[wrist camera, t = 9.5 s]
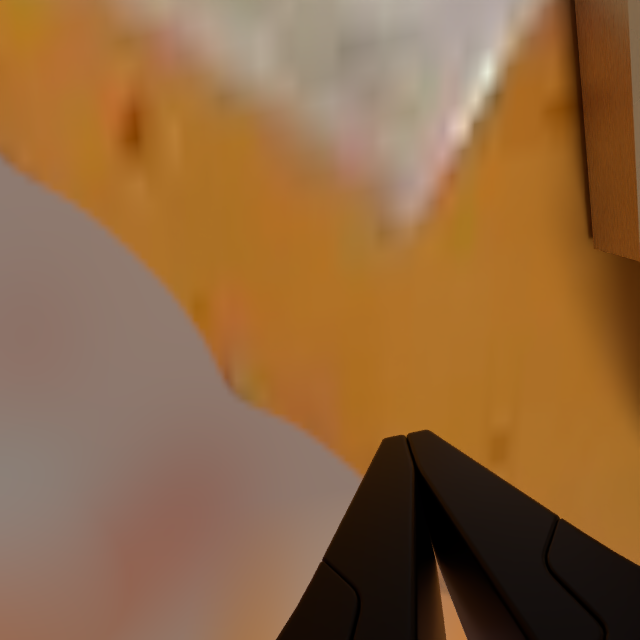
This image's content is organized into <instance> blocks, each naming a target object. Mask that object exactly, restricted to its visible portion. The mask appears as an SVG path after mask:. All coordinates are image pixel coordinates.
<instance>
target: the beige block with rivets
mask: <svg viewBox="0 0 640 640" xmlns="http://www.w3.org/2000/svg"><path fill="white" fill-rule="evenodd" d="M575 11H576V23H577V36H578V49H579V62H580V75H581V88H582V101H583V114H584V127H585V140H586V153H587V165H588V178H589V191H590V204H591V217H592V230H593V243H594V249H597V250H601V251H604V252H608V253H611V254H615V255H618V256H622V257H625V258H629V259H632V260H636V261H639V262H640V0H575Z"/></svg>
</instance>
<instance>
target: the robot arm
mask: <svg viewBox="0 0 640 640" xmlns="http://www.w3.org/2000/svg"><path fill="white" fill-rule="evenodd" d="M432 545H433V546H432ZM433 549H434V550H433ZM434 552H435V555H434ZM435 556H436V559H437V562H438V565H439V568H440V570H441V573H442V576H443V578H444V581H445V584H446V586H447V589H448V591H449V594H450V596H451V599H452V601H453V604H454V606H455V609H456V612H457V614H458V617H459V619H460V622H461V624H462V627H463V629H464V632H465V635H466V637H467V639H468V640H640V566H639V565H637V564H635V563H633V562H632V561H630V560H628V559H626V558H625V557H623V556H621V555H619V554H617V553H616V552H614V551H613V550H611V549H609V548H608V547H606V546H605V545H603V544H601V543H600V542H598V541H597V540H595V539H593V538H592V537H590V536H589V535H587V534H585V533H584V532H582V531H581V530H579V529H578V528H576V527H575V526H573V525H572V524H570V523H569V522H567V521H566V520H564V519H560V518H559V516H558V515H556V514H555V513H553V512H552V511H550V510H549V509H547V508H546V507H544V506H543V505H541V504H540V503H538V502H537V501H535V500H534V499H532V498H531V497H529V496H528V495H526V494H525V493H523V492H522V491H520V490H518V489H517V488H515V487H514V486H512V485H511V484H509V483H508V482H506V481H505V480H503V479H502V478H500V477H499V476H497V475H496V474H494V473H493V472H491V471H490V470H488V469H487V468H485V467H484V466H482V465H481V464H479V463H478V462H476V461H475V460H473V459H472V458H470V457H469V456H467V455H466V454H464V453H463V452H461V451H460V450H458V449H457V448H455V447H454V446H452V445H451V444H449V443H448V442H446V441H445V440H443V439H442V438H440V437H439V436H437V435H436V434H434V433H433V432H431V431H429V430H422V431H417V432H412V433H409V434H408V435H407V438H406V436H404V435H398V436H393V437H388V438H384V439H383V440H382V442H381V444H380V446H379V448H378V450H377V452H376V454H375V456H374V458H373V460H372V462H371V464H370V466H369V468H368V470H367V472H366V474H365V476H364V478H363V480H362V482H361V484H360V486H359V488H358V490H357V492H356V494H355V496H354V498H353V500H352V501H351V504H350V506H349V507H348V509H347V511H346V514H345V515H344V517H343V519H342V521H341V523H340V525H339V527H338V529H337V531H336V533H335V535H334V537H333V539H332V541H331V543H330V545H329V547H328V549H327V551H326V553H325V555H324V557H323V559H322V562H321V563H320V564H319V566H318V568H317V570H316V572H315V574H314V576H313V578H312V580H311V582H310V584H309V585H308V587H307V589H306V591H305V593H304V594H303V596H302V598H301V600H300V602H299V604H298V606H297V607H296V609H295V610H294V612H293V614H292V615H291V617H290V618H289V620H288V621H287V623H286V625H285V626H284V628H283V629H282V631H281V633H280V634H279V636H278V637H277V639H276V640H446V634H445V626H444V618H443V610H442V602H441V594H440V586H439V578H438V571H437V565H436V559H435Z"/></svg>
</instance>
